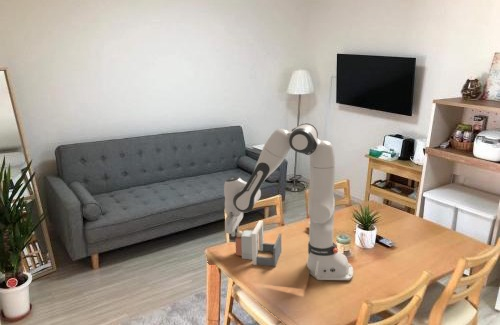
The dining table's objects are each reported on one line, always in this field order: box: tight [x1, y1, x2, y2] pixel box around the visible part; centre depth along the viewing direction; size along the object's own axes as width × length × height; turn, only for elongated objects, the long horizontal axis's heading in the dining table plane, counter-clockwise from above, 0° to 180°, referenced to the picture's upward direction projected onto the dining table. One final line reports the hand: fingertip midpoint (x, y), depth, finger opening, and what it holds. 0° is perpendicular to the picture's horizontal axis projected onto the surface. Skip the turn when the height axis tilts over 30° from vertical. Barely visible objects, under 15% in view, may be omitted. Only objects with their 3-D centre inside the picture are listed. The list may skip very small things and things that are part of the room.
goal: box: [252, 220, 282, 268], centre depth 193 cm, size 12×16×16 cm
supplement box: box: [241, 230, 259, 260], centre depth 196 cm, size 7×7×13 cm
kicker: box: [228, 229, 244, 257], centre depth 197 cm, size 7×5×14 cm
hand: (234, 233), depth 196 cm, fingers closed on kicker, 3 cm apart
